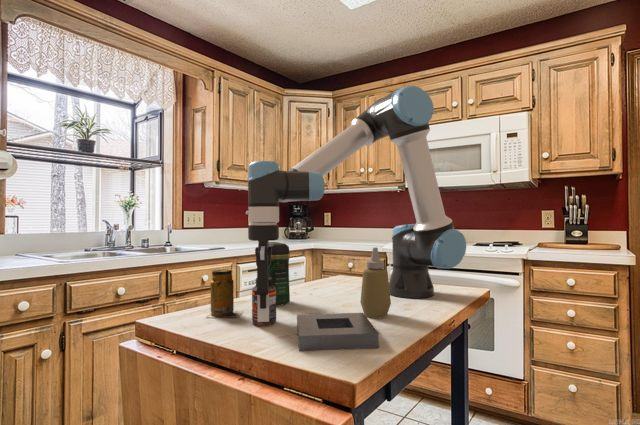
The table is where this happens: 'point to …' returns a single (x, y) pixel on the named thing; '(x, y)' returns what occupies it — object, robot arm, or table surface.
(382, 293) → the squeeze bottle
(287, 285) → the coffee jar
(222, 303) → the condiment
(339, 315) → the socket block
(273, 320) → the supplement bottle
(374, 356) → the table surface
